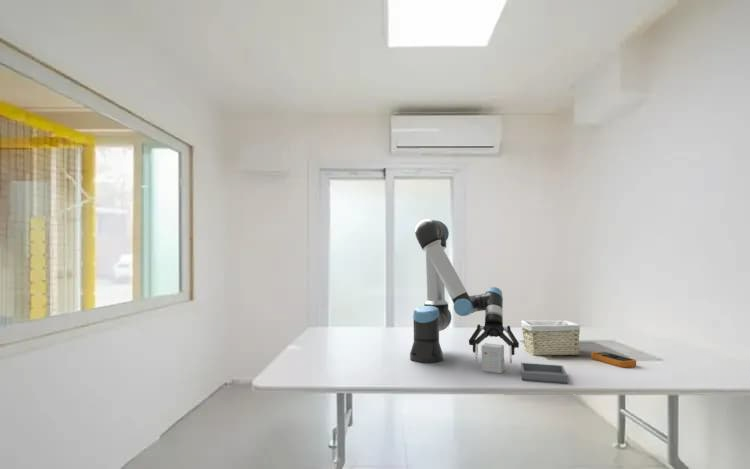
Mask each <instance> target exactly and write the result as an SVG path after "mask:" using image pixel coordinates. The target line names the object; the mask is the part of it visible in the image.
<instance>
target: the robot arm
mask: <svg viewBox="0 0 750 469" xmlns="http://www.w3.org/2000/svg"><path fill="white" fill-rule="evenodd" d="M414 229H415V231H414V233H415V237H416V240H417V242H418V244H419V245H420V248H421V250H422V251H423V252H425V264H426V268H425V269H426V272H425V273H426V301H425V302H424V303H423V304H424V305H423V306H418V307H416V308H414V310H413V316H412V317H413V318H412V319H413V343H412V347H411V349H410V352H409V359H410V360H411V359H412V360H411V361H413V360H414V362H418V363H438V362H441V361H444V352H443V350H442V347H441V344H440V332H442V331H444V330H446V329H447V328H448V327H449V326H450V324H451V322H452V313H451V310H449V302H447V301H446V294H445V293H446V292H445V291H447V293H448V295H449V296H450V298H451V301H452V303H453V310H454V313H456V315H458V316H461V317H466V316H469V315H472V314H474V313H476V312H483V311H484V313H485V314H484V325H483V326H482V325H480V324H477V327H476V329H475V331H474V332H473V333H472V335H471V336H470V338H469V340H468V344H469V345H470V346H472V352H473V353H474V354H475V355H474V359H475V360H474V361H478V355H479V345H480V344H481V342H483V341H484V340H485V339H486V338H488V337H491V338H492V337H495V338H497V337H499V338H500V339H502V340H503V341H504V342H505V343H506V345H508V346H509V364H512V361H513V359H512V358H513V356H515V352H516V351H515V349H516V348H517V349H519V347H520V343H519V341H518V340H517V338H516V336H515V335H514V334H513V332H512V330H511V326H510V325H507V326H505V327H504V326H503V324H504V322H503V318H504V317H503V315H504V314H503V312H504V311H503V304H504V303H503V302H504V299H503V298H504V297H503V292H502V290H501V289H500V288H498V287H497V286H496V287H495V286H491V287H489V288H487V289H486V290H485V293H481V294H474V295H470V294H469V293H468V292H467V289H466V287H465V286H464V284H463V282H462V281H461V279H460V276H459V275H458V273H457V271H456V269H455V268H454V266H453V264H452V263H451V261H450V259H449V257H448V254H447V253H446V251H445V250H446V248H447V241H448V238H449V234H450V231H449V228H448V226H447V225H446V224H445V223H444V222H442V221H440V220H435V219H431V218H426V219H423V220H420V222H418V223H417V224H416V226H415V228H414ZM482 331H483V332H482ZM481 332H482V333H481ZM504 332H506V333H507V335H508V336H507V335H506V334H505V333H504ZM480 333H481V334H480Z"/></svg>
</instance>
